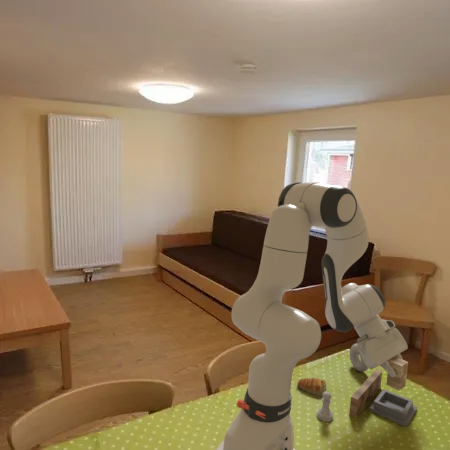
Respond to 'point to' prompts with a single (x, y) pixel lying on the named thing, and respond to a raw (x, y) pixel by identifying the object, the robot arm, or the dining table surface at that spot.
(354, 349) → the donut
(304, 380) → the pastry
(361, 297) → the robot arm
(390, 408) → the seat block
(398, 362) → the block
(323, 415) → the chess piece
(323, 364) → the dining table surface
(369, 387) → the door edge
